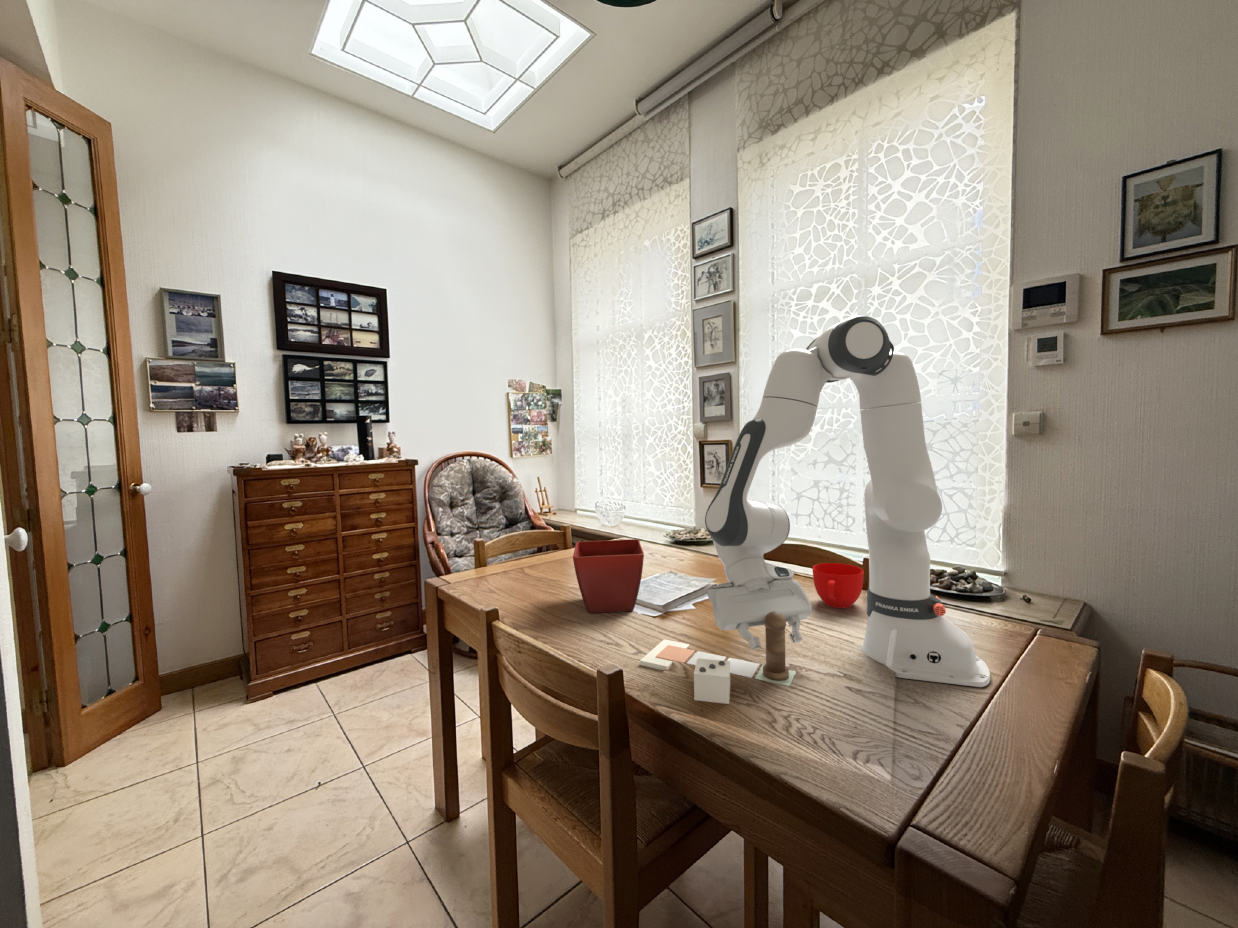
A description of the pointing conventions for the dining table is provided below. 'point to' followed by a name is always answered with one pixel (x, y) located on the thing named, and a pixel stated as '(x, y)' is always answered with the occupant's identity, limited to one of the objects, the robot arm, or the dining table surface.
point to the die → (712, 681)
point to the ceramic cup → (838, 583)
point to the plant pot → (609, 574)
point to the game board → (678, 652)
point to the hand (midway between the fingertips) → (777, 644)
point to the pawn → (775, 647)
